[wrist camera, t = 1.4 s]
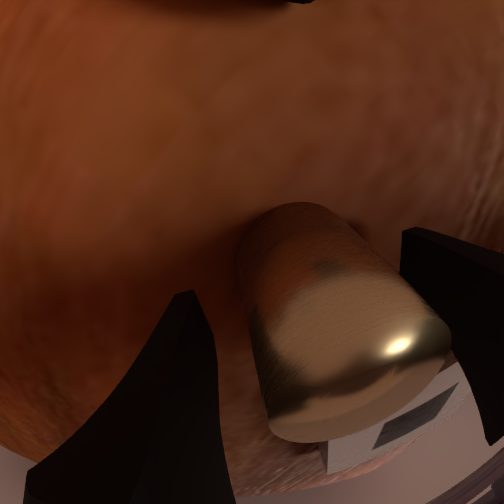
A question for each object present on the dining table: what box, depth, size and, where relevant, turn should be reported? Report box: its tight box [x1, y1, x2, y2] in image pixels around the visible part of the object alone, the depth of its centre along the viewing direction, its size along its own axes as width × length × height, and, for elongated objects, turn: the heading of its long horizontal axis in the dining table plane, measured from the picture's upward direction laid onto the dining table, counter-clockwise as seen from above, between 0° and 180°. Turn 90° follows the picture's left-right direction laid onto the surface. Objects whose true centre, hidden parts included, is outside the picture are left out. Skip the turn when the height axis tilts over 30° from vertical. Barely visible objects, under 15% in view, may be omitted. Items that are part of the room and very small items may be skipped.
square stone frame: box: [318, 349, 471, 475], centre depth 16 cm, size 14×14×3 cm
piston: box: [236, 202, 451, 443], centre depth 8 cm, size 4×4×6 cm
